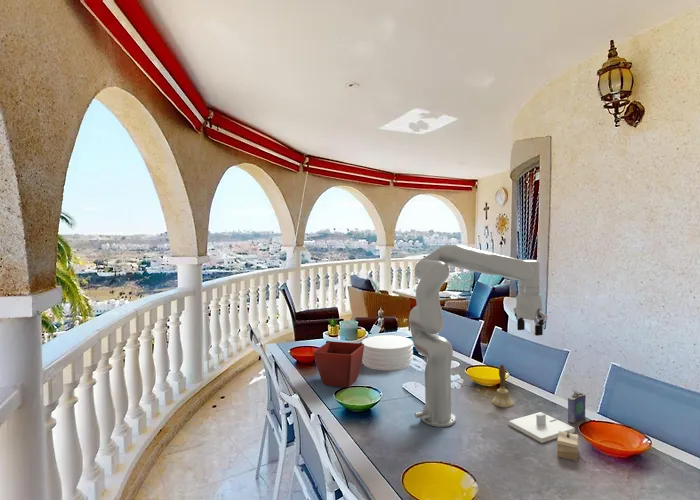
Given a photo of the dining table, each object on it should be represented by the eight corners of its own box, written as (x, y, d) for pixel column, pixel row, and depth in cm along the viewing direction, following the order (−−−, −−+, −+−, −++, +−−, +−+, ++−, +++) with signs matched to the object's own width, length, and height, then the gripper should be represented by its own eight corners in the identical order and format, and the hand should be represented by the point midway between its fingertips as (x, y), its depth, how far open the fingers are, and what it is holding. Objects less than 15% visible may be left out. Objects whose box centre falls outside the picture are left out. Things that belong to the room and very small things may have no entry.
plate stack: (379, 351, 239) (378, 333, 238) (421, 359, 222) (421, 339, 222) (352, 364, 216) (351, 343, 216) (397, 374, 200) (397, 351, 199)
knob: (577, 461, 120) (577, 443, 120) (557, 456, 123) (557, 438, 123) (578, 450, 126) (578, 432, 126) (558, 445, 129) (558, 429, 129)
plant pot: (313, 386, 185) (312, 351, 185) (330, 373, 203) (329, 340, 202) (351, 391, 178) (350, 354, 177) (365, 377, 196) (365, 343, 195)
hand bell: (515, 408, 157) (515, 368, 157) (493, 406, 159) (493, 367, 159) (511, 399, 166) (511, 361, 165) (490, 398, 167) (490, 361, 167)
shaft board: (541, 442, 131) (541, 428, 131) (509, 424, 144) (508, 411, 144) (574, 432, 137) (574, 417, 137) (540, 415, 150) (540, 402, 150)
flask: (573, 424, 143) (572, 395, 143) (565, 421, 146) (564, 392, 145) (587, 417, 148) (587, 389, 147) (579, 415, 150) (579, 387, 150)
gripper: (506, 288, 167) (507, 328, 168) (538, 294, 151) (538, 338, 152) (521, 287, 170) (521, 327, 170) (553, 292, 153) (554, 336, 154)
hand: (529, 332), depth 161 cm, fingers open, 9 cm apart
